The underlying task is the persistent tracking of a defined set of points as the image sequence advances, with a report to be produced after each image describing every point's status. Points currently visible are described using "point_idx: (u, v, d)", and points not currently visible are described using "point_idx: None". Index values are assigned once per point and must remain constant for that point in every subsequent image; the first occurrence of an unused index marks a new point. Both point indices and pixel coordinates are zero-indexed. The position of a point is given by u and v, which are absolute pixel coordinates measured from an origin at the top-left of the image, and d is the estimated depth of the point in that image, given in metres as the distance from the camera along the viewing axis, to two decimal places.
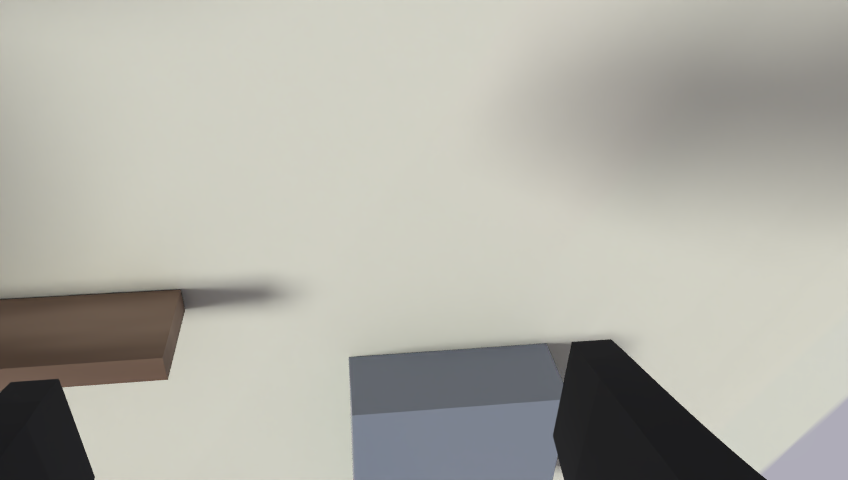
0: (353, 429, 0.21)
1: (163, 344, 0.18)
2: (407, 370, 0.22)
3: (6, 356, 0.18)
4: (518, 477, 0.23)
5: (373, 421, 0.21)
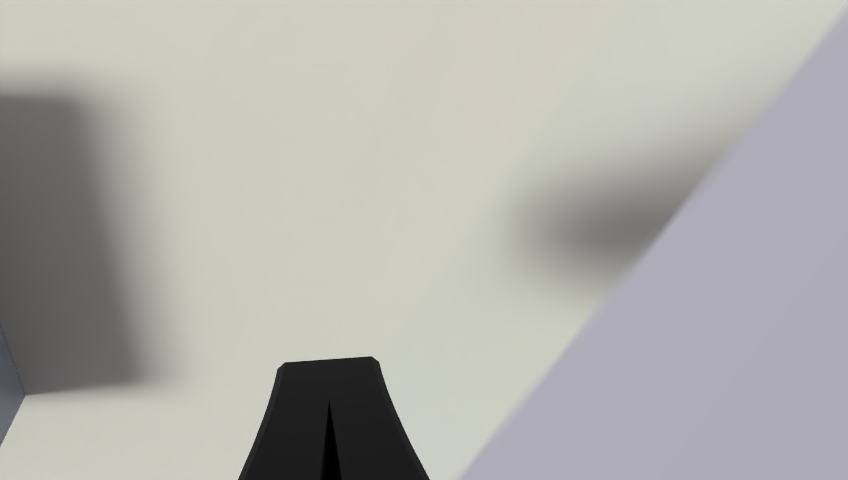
0: None
1: None
2: None
3: None
4: None
5: None
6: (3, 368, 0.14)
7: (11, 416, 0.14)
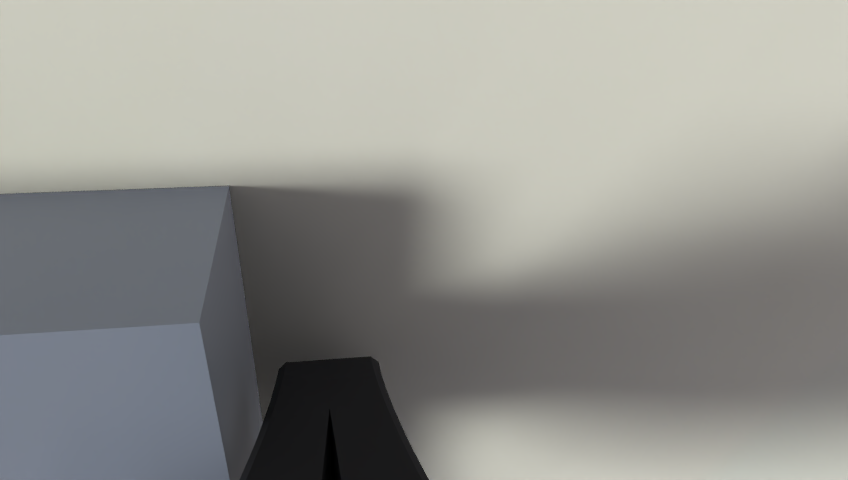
0: None
1: None
2: None
3: None
4: None
5: None
6: None
7: None
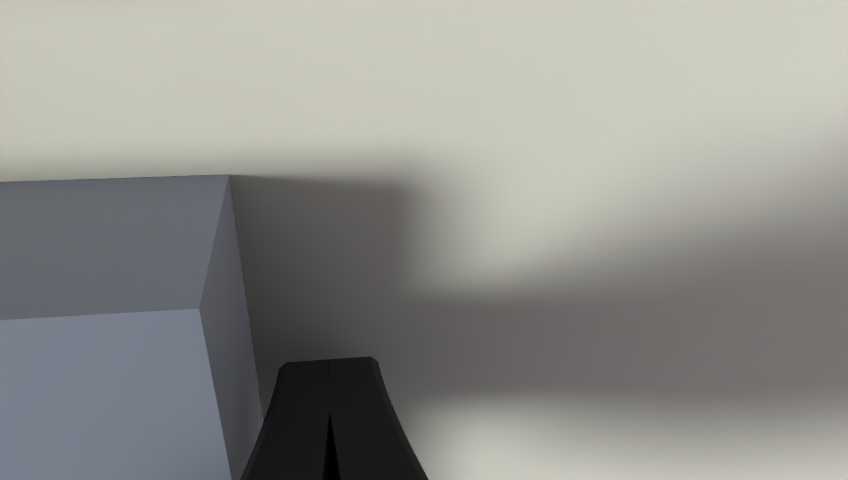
0: None
1: None
2: None
3: None
4: None
5: None
6: None
7: None
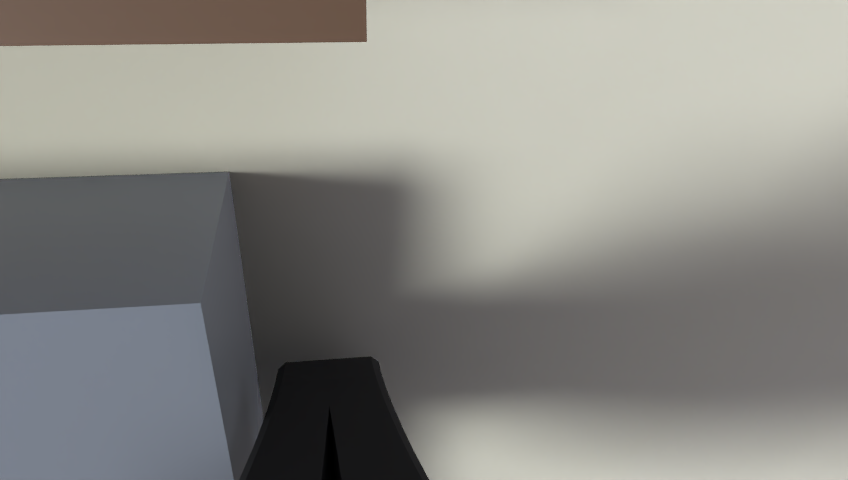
0: None
1: None
2: None
3: None
4: None
5: None
6: None
7: None
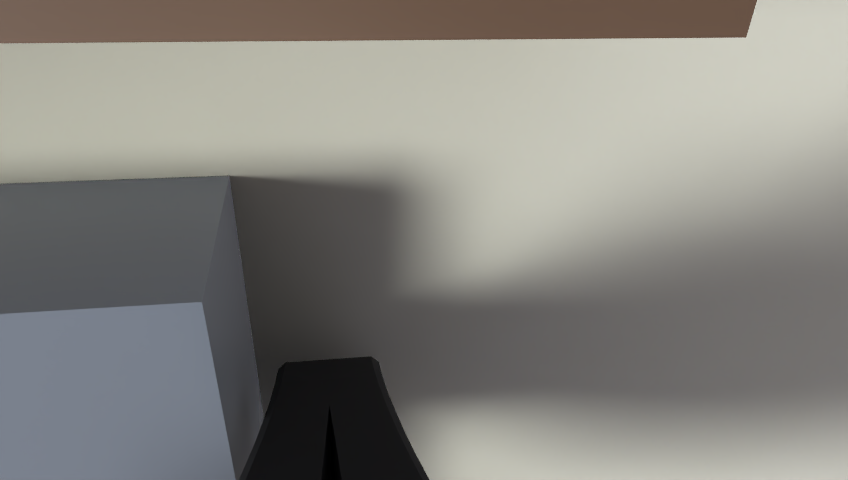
0: None
1: None
2: None
3: None
4: None
5: None
6: None
7: None
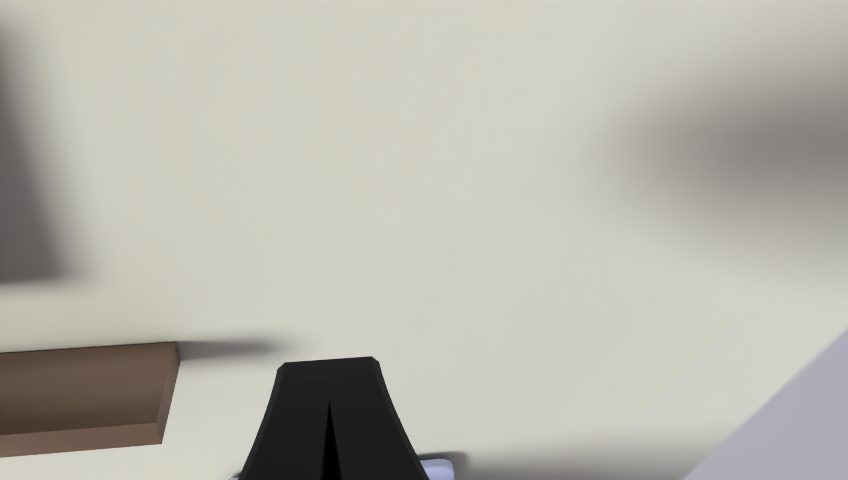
0: None
1: None
2: None
3: None
4: None
5: None
6: None
7: None
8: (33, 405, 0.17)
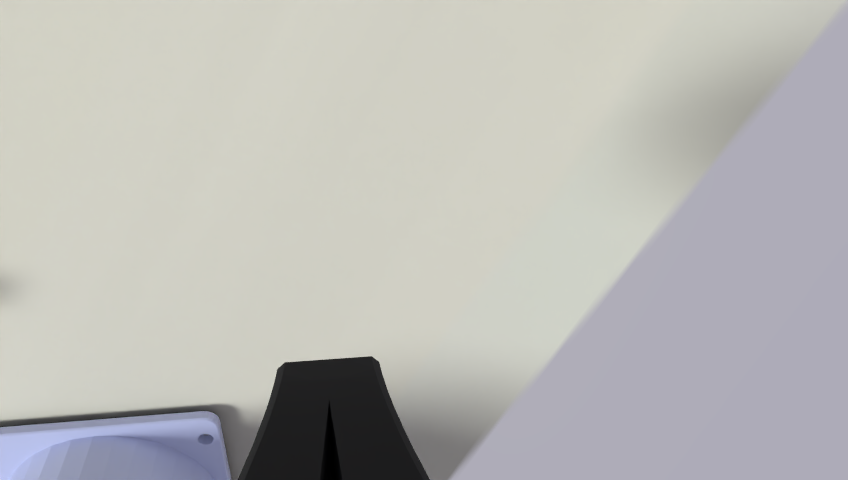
0: None
1: None
2: None
3: None
4: None
5: None
6: None
7: None
8: None
